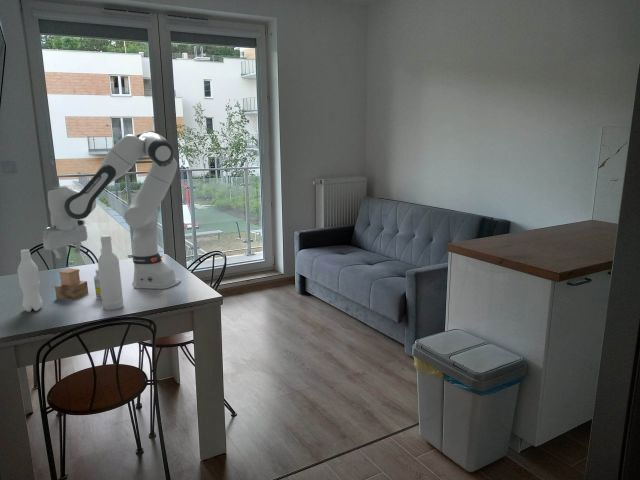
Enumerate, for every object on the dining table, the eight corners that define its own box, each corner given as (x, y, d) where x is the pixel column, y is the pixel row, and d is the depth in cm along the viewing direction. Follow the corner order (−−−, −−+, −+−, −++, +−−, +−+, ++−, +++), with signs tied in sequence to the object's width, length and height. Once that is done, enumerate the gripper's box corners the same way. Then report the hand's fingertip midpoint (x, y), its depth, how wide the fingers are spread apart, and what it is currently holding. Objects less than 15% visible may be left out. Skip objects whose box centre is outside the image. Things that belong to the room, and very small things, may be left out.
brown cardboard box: (80, 282, 212) (79, 269, 210) (70, 286, 207) (68, 272, 205) (71, 281, 214) (69, 268, 212) (60, 285, 209) (59, 271, 207)
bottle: (127, 304, 200) (120, 234, 193) (115, 311, 192) (107, 238, 186) (111, 303, 201) (103, 233, 195) (98, 309, 194) (90, 237, 188)
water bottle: (21, 313, 191) (12, 253, 185) (24, 308, 197) (15, 249, 192) (42, 311, 193) (33, 251, 188) (44, 305, 200) (36, 247, 195)
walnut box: (88, 293, 215) (86, 281, 214) (75, 300, 206) (73, 287, 205) (70, 293, 217) (69, 280, 215) (56, 299, 208) (54, 286, 207)
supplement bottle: (114, 294, 213) (111, 266, 210) (110, 299, 207) (107, 270, 204) (98, 295, 212) (95, 267, 209) (94, 300, 206) (91, 271, 203)
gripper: (48, 228, 194) (53, 261, 197) (87, 220, 213) (92, 250, 216) (36, 228, 196) (42, 261, 199) (76, 219, 215) (81, 249, 218)
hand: (68, 255), depth 208 cm, fingers open, 8 cm apart
